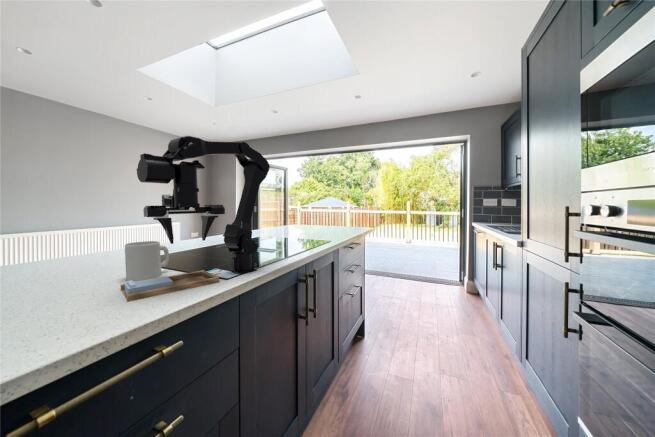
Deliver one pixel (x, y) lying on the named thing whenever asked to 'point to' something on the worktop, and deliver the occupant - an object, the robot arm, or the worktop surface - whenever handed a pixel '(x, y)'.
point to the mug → (144, 260)
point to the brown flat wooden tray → (175, 284)
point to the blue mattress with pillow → (147, 284)
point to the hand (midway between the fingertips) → (188, 242)
